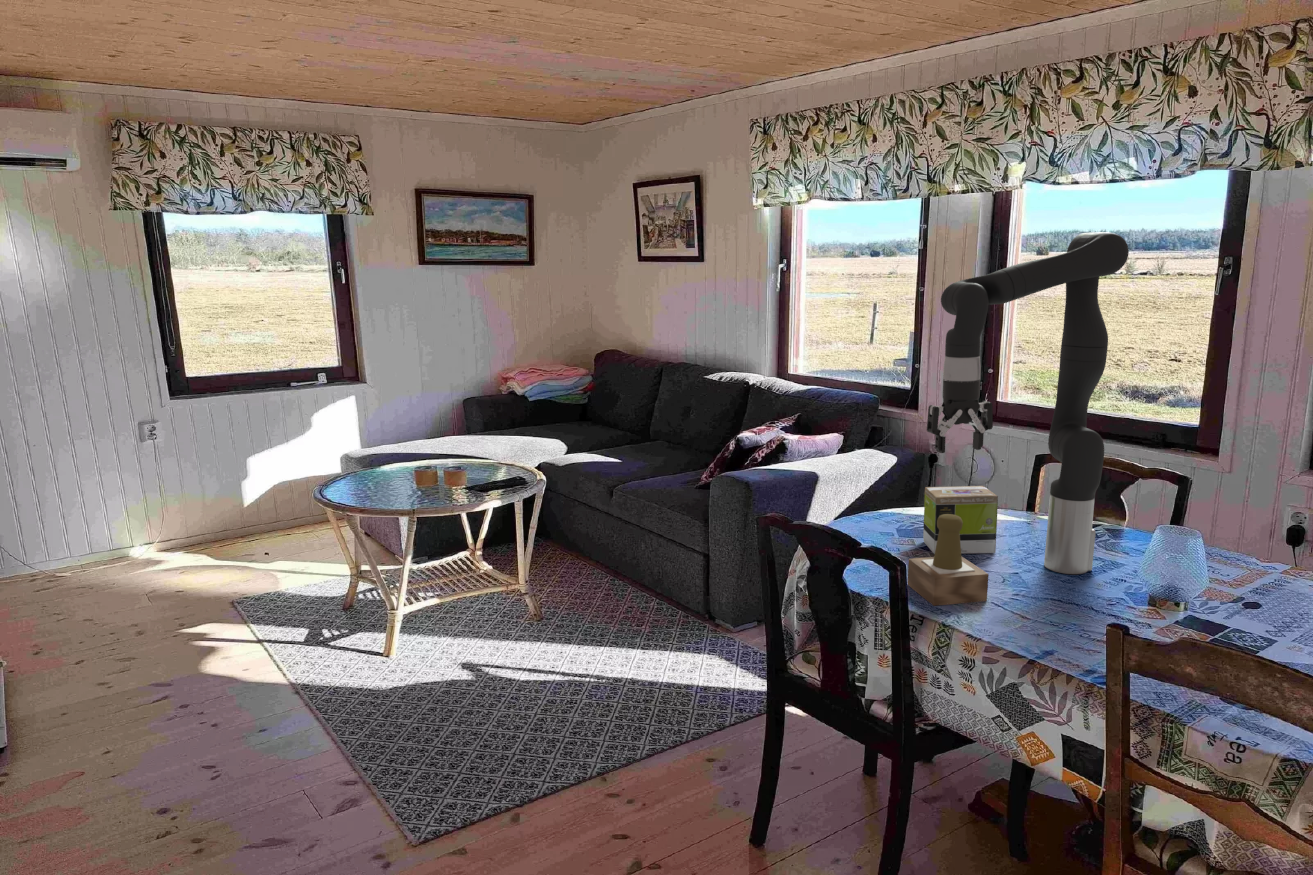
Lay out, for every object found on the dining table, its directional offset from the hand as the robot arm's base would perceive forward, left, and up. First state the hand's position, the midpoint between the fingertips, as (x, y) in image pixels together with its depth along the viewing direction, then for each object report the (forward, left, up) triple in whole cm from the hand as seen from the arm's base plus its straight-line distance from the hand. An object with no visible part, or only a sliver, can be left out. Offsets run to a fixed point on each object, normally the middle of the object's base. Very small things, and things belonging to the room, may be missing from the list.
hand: (958, 450), depth 191 cm
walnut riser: (+5, +8, -29) cm, 31 cm away
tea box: (-12, -18, -30) cm, 37 cm away
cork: (+5, +8, -23) cm, 25 cm away
